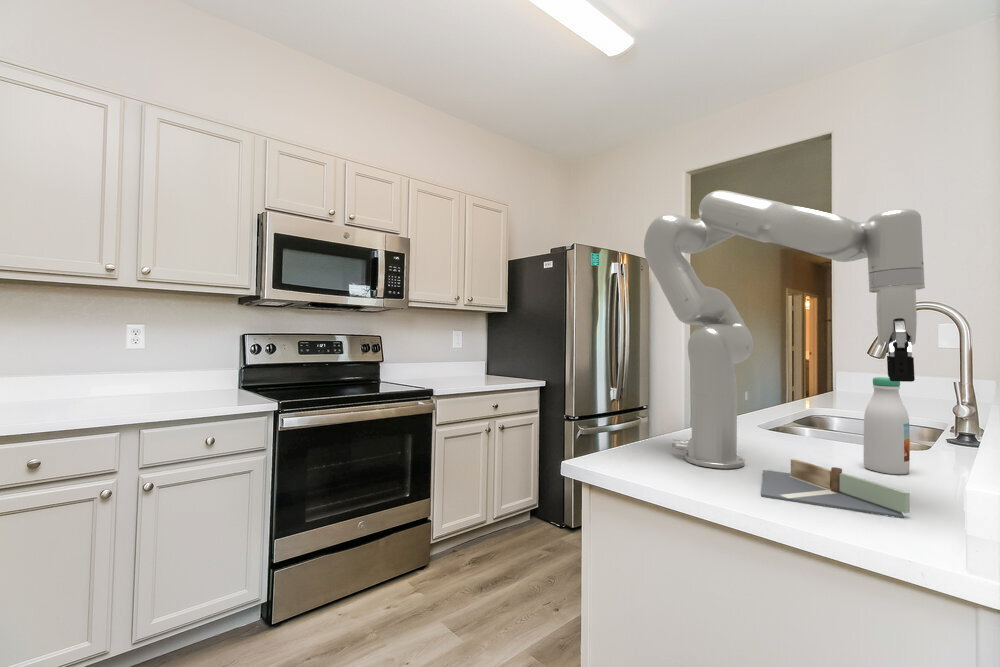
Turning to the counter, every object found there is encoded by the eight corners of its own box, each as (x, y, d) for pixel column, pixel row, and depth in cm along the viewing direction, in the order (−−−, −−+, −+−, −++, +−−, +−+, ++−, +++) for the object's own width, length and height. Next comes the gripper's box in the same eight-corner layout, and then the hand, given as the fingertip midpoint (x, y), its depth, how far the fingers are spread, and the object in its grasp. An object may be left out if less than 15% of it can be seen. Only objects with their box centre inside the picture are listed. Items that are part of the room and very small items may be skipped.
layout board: (761, 496, 85) (761, 494, 85) (763, 471, 101) (763, 469, 101) (904, 518, 75) (904, 515, 75) (882, 487, 91) (882, 484, 91)
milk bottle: (896, 477, 97) (896, 380, 98) (855, 467, 105) (855, 377, 105) (917, 472, 101) (917, 378, 101) (876, 463, 108) (876, 375, 108)
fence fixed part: (789, 478, 96) (789, 455, 96) (795, 477, 97) (795, 455, 97) (837, 495, 86) (837, 470, 86) (844, 494, 87) (844, 469, 87)
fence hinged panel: (839, 491, 86) (839, 473, 86) (843, 490, 86) (843, 473, 86) (904, 513, 76) (905, 493, 76) (909, 512, 76) (909, 492, 76)
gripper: (869, 288, 93) (873, 376, 92) (868, 279, 79) (873, 382, 78) (920, 284, 88) (924, 376, 87) (929, 274, 74) (934, 383, 74)
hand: (900, 379), depth 83 cm, fingers open, 9 cm apart
